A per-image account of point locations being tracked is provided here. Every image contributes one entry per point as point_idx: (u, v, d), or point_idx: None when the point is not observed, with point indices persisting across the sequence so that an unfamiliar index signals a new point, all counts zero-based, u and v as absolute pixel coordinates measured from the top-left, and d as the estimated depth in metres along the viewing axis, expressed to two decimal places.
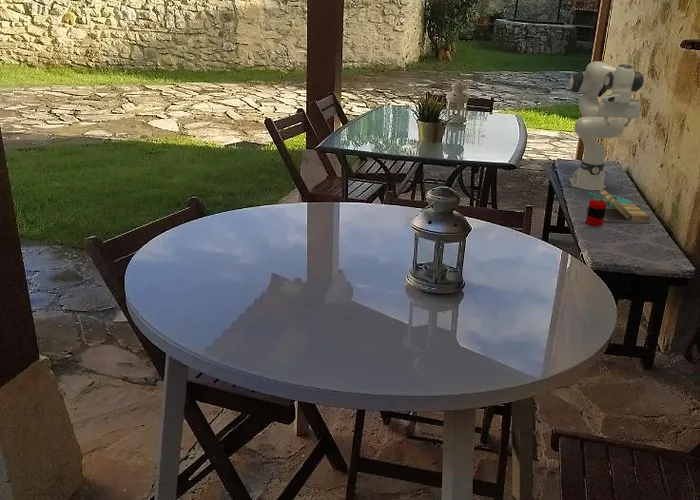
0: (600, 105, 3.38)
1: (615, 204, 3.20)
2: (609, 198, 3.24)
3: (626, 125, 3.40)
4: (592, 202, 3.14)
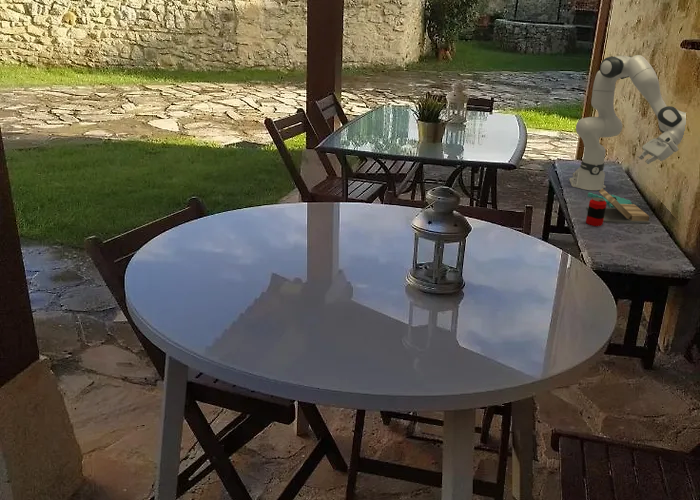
0: (668, 151, 3.19)
1: (615, 204, 3.20)
2: (609, 198, 3.24)
3: None
4: (592, 202, 3.14)
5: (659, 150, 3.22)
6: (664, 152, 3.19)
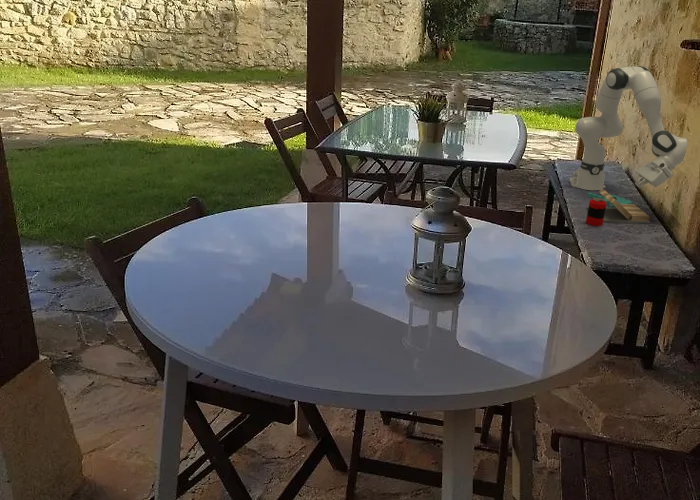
0: (662, 177, 3.14)
1: (615, 204, 3.20)
2: (609, 198, 3.24)
3: None
4: (592, 202, 3.14)
5: (653, 176, 3.17)
6: (658, 178, 3.14)
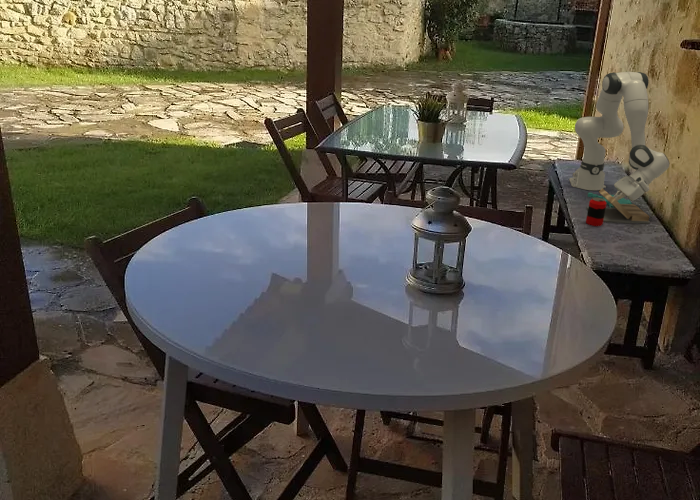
0: (639, 191, 3.17)
1: (615, 204, 3.20)
2: (609, 198, 3.24)
3: None
4: (592, 202, 3.14)
5: (630, 190, 3.20)
6: (635, 192, 3.17)
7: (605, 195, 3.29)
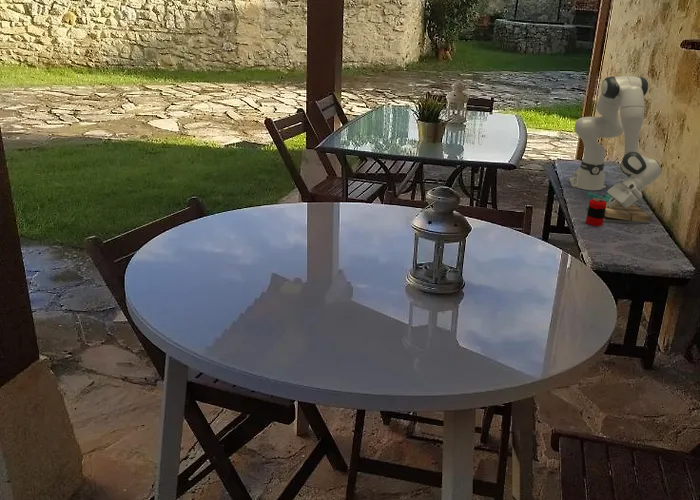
0: (632, 198, 3.18)
1: (610, 215, 3.22)
2: None
3: None
4: (592, 202, 3.14)
5: (623, 197, 3.21)
6: (628, 199, 3.18)
7: None
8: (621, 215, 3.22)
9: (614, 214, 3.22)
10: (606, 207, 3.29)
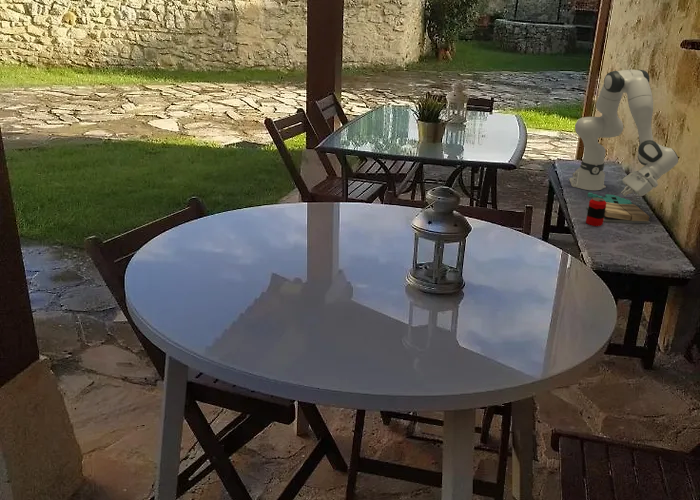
0: (648, 186, 3.16)
1: (610, 215, 3.22)
2: None
3: None
4: (592, 202, 3.14)
5: (638, 185, 3.19)
6: (643, 188, 3.16)
7: None
8: (621, 215, 3.22)
9: (614, 214, 3.22)
10: (606, 207, 3.29)
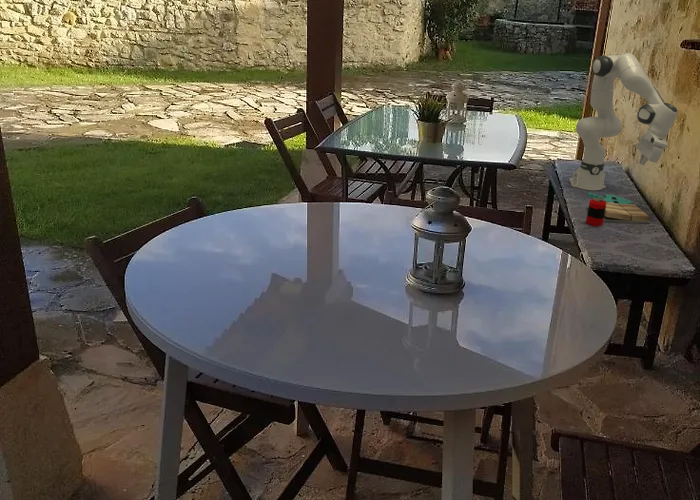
0: (658, 151, 3.14)
1: (610, 215, 3.22)
2: None
3: None
4: (592, 202, 3.14)
5: (649, 152, 3.18)
6: (654, 154, 3.15)
7: None
8: (621, 215, 3.22)
9: (614, 214, 3.22)
10: (606, 207, 3.29)
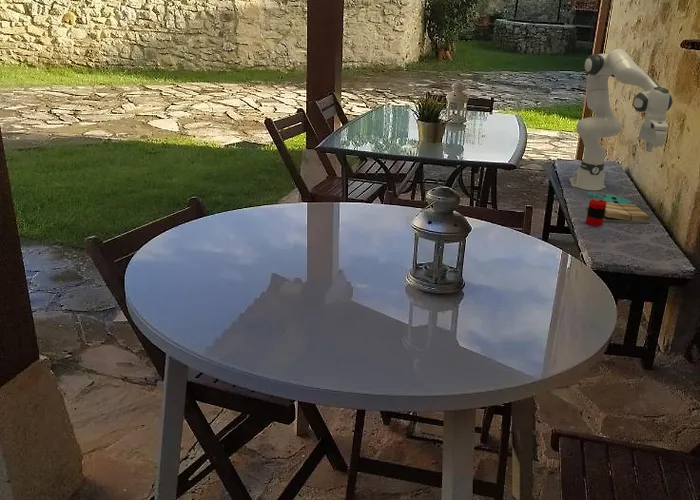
0: (660, 135, 3.14)
1: (610, 215, 3.22)
2: None
3: None
4: (592, 202, 3.14)
5: (653, 138, 3.18)
6: (658, 139, 3.14)
7: None
8: (621, 215, 3.22)
9: (614, 214, 3.22)
10: (606, 207, 3.29)
